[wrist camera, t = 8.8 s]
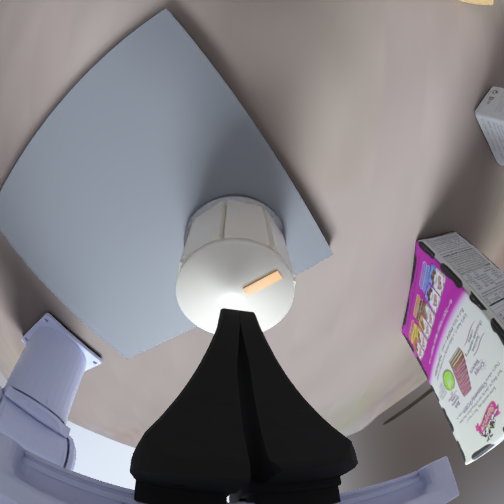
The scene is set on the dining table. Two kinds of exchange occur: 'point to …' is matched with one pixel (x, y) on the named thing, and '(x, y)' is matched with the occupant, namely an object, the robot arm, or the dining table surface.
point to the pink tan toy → (479, 2)
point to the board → (140, 185)
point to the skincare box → (493, 121)
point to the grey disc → (225, 199)
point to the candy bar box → (460, 337)
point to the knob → (235, 267)
